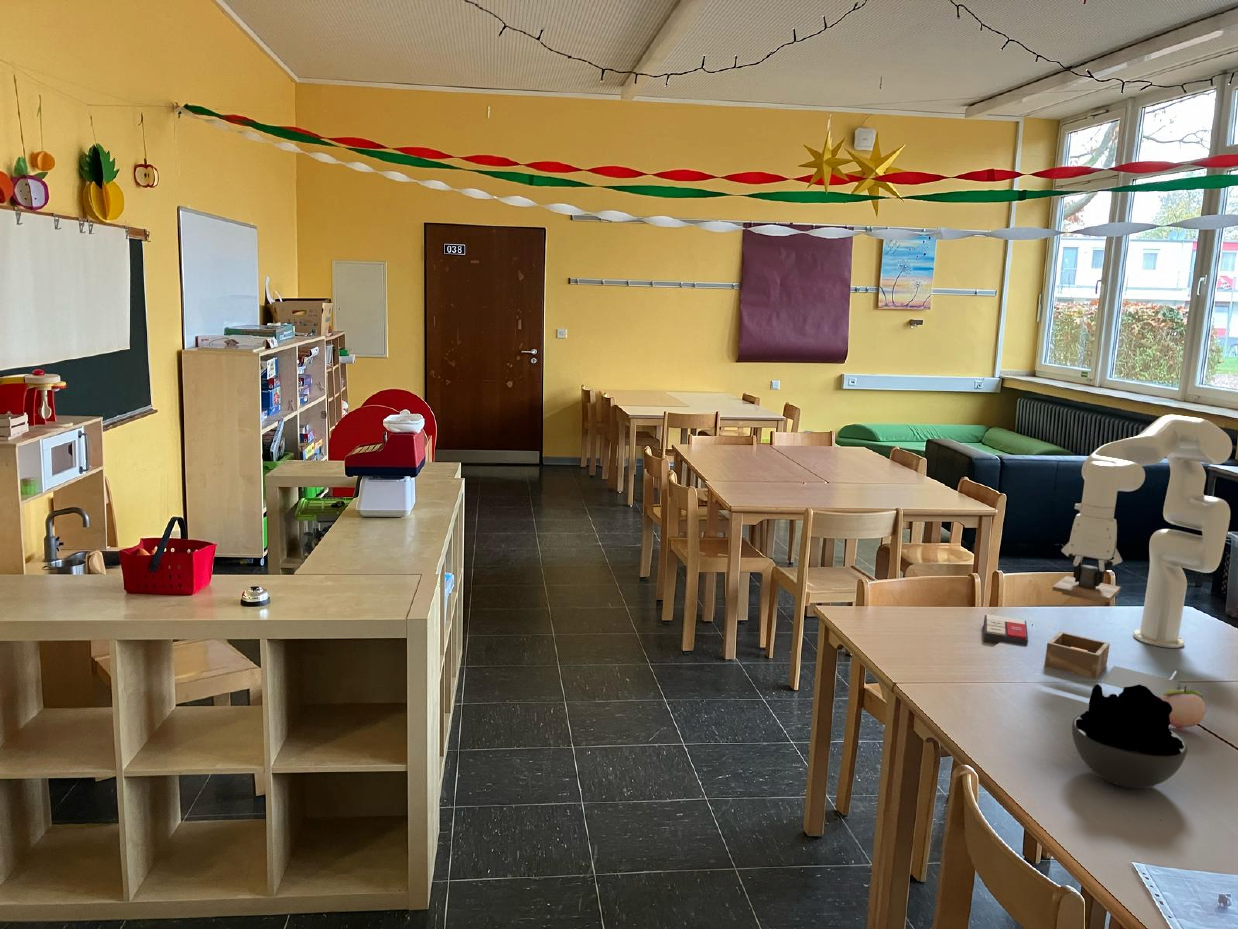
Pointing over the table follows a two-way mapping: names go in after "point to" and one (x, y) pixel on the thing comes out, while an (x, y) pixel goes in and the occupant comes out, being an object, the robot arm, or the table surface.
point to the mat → (1139, 680)
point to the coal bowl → (1129, 738)
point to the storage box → (1077, 654)
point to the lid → (1087, 586)
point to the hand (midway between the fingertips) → (1087, 582)
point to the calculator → (1004, 630)
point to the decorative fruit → (1185, 707)
